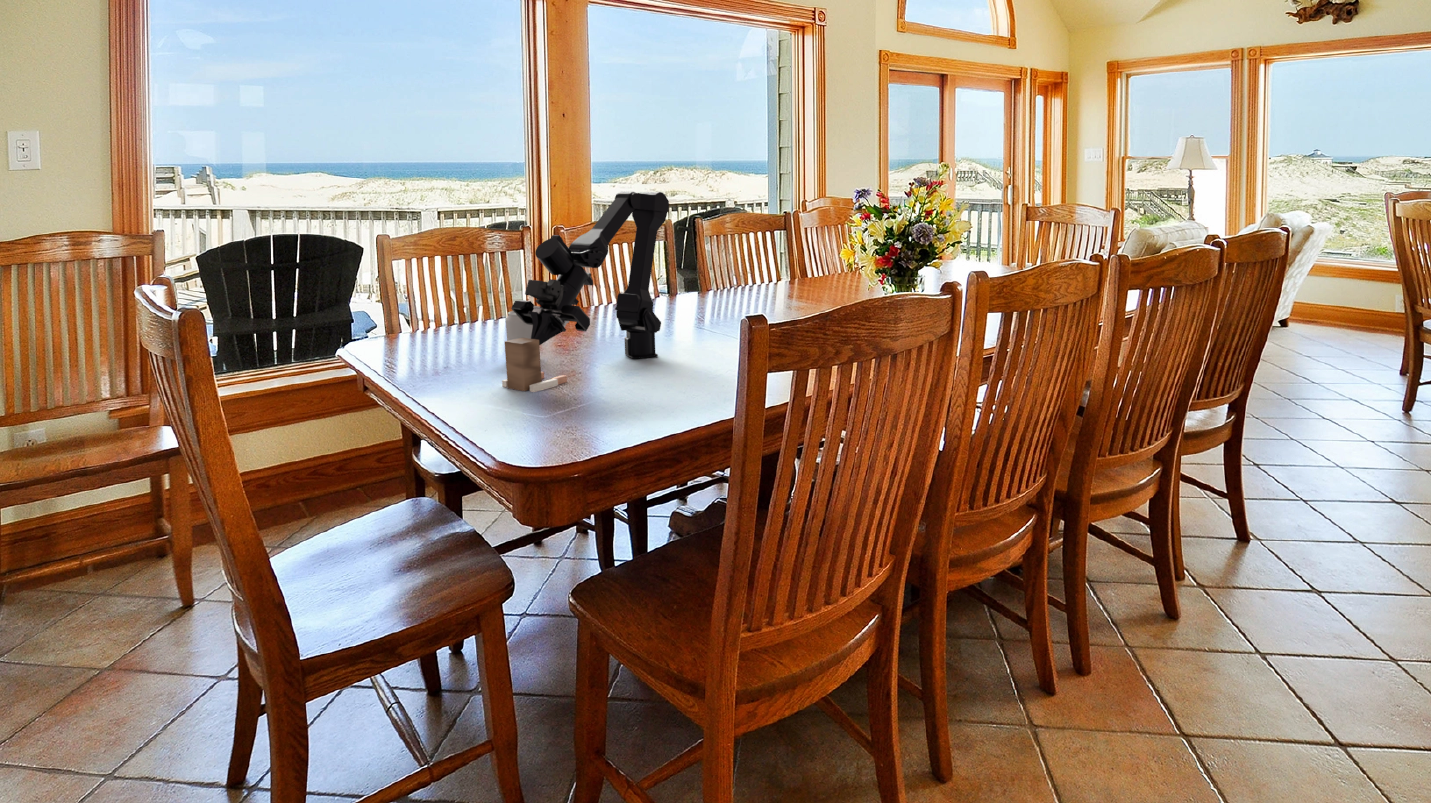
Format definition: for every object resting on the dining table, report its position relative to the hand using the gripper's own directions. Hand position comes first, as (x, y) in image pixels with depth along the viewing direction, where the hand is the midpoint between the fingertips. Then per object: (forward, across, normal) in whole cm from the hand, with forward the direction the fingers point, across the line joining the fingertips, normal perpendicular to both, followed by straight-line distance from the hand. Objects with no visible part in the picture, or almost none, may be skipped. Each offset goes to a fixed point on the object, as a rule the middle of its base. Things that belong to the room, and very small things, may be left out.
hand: (532, 347), depth 202 cm
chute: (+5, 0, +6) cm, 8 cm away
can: (-6, -20, +18) cm, 28 cm away
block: (+8, 0, +4) cm, 9 cm away
